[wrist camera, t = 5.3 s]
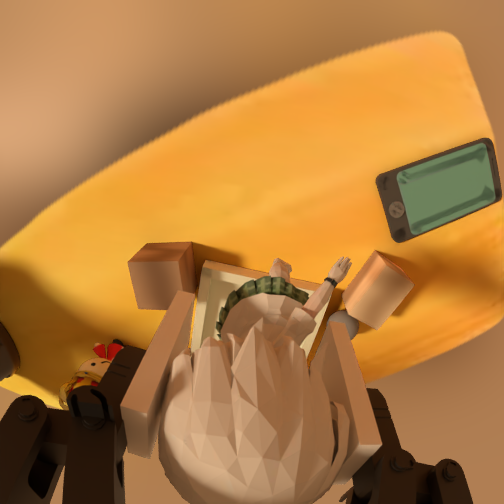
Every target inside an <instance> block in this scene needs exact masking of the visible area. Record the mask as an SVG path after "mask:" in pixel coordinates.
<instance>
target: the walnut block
mask: <svg viewBox="0 0 504 504" xmlns="http://www.w3.org/2000/svg"><path fill="white" fill-rule="evenodd" d="M128 267H129V271H130V276H131V280H132V284H133V289H134V293H135V297H136V301H137V305H138V309H152V310H168V308H169V306H170V305H171V303H172V301H173V299H174V297H175V295H176V293H177V291H178V290H180V291H184V292H188V293H193V294H194V293H195V291H196V289H197V286H198V284H197V277H196V270H195V263H194V256H193V248H192V242H171V243H147V244H146V245H145V246H144V247H143V248H141V249H140V250H139V251H138V252H137V253H136V254H135V255H134V256H133V257H132V258H131V259H130V260H129V261H128Z"/></svg>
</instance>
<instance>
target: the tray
mask: <svg viewBox="0 0 504 504" xmlns="http://www.w3.org/2000/svg"><path fill="white" fill-rule="evenodd" d="M263 276H269V273H265V272H260V271H255V270H251V269H246V268H242V267H237V266H233V265H228V264H223V263H219V262H215V261H210V260H205V262H204V264H203V266H202V271H201V278H200V285H199V292H198V299H197V306H196V313H195V320H194V328H193V335H192V343H191V352H192V353H193V352H194V351H195V350H197V349H200V348H201V346H202V344H203V341H204V339H206V338H208V337H212V338H214V339H216V340H217V341H218V340H219V337H218V336H217V334H219V332H218V331H217V330H216V329H215V327H216V321H218V322H219V313H220V310H221V307H225V304H226V301H227V298H228V295H229V294H230V293H231V292H232V291H233V290H235V291H236V290H238V289H239V288H240V287H241V286H242V285H243V284H244V283H245V282H247V281H250V280H253V279H254V281H255V280H257V279H259V278H261V277H263ZM290 283H291V284H293V285H294V286H295V287H296V288H298V289H300V290H303V291H305V292H306V293H308V294H309V296H308V297H310V296H311V295H312V294H313V293H314V292H315V291H316V290H317V289H318V288H319V287H320V286H321V284H316V283H312V282H307V281H302V280H297V279H293V278H290ZM331 295H332V294H331ZM330 298H331V296H330ZM330 298H329V300H330ZM329 300H328V302H327V303H326V304H325V306H324V307H323V308H322V309H321V310H320V312H319V313H318V314H317V316H316V317H315V319H314V320H315V322H316V323H317V324H316V327H315V329H314V331H313V333H311V334H309V335H308V336H307V337H306V338H305V340H304V341H303V343H302V344H301V346H300V348H302V349H304V350H305V354H306V359H307V356H308V354H309V352H310V349H311V347H312V344H313V342H314V339H315V337H316V334H317V332H318V329H319V327H320V324H321V321H322V319H323V316H324V314H325V311H326V308H327V306H328V303H329ZM190 354H191V353H190ZM191 356H192V355H191ZM190 359H191V357H190Z"/></svg>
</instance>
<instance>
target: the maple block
mask: <svg viewBox="0 0 504 504" xmlns="http://www.w3.org/2000/svg"><path fill="white" fill-rule="evenodd" d="M413 287H414V283H413V282H412V281H411V280H410V278H409V277H408V276H407V275H406V273H405V272H404V271H403V270H402V268H400V267H399V266H397V265H396V264H394V263H393V262H392V261H390V260H389V259H387V258H386V257H384V256H383V255H381V254H380V253H379V252H377V251H376V250H375V251H374V252H373V253H372V255H371V256H370V258H369V259H368V260H367V262H366V263H365V264H364V266H363V267H362V268H361V270H360V271H359V272H358V274H357V275H356V276H355V278H354V279H353V280H352V281H351V283H350V284H349V285H348V287H347V288H346V289H345V290H344V292H343V293H342V294H341V296H342V298H343V301H344V304H345V307H346V309H347V312H348V314H349V315H350V316H352V317H354V318H356V319H358V320H359V321H361V322H363V323H365V324H367V325H369V326H370V327H372V328H374V329H376V330H378V329H379V328H380V327H381V325H382V324H383V323H384V322H385V321H386V320H387V318H388V317H389V316H390V315H391V314H392V313H393V311H394V310H395V309H396V308H397V307H398V305H399V304H400V303H401V302H402V300H403V299H404V298H405V297H406V295H407V294H408V293H409V292H410V290H411V289H412V288H413Z"/></svg>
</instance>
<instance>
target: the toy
mask: <svg viewBox="0 0 504 504" xmlns="http://www.w3.org/2000/svg"><path fill="white" fill-rule="evenodd" d="M124 347H126V346H124V345H123V343H122V342H121V341H119V340H117V339H115V340H113V344H110V345H109V346H108V347H107V359H106V352H105V345H104V344H101V343H95V345H94V349H93V350H94V352H95V353H96V354H97V355H98V356H99V357H100V358H93V359H90V360H88V361H86V362H85V363H83V364H82V365H81V367H80V368H79V370H78V372H77V373H75V375H74V377H73V378H72V380H71V381H70V382H68V383H65V384H64V385H62V386H61V388H60V391H59V394H60V396H59V404H60V406H61V407H62V408H63V409H64V410H69V408H68V406H67V405H64V404H63V401H64V402H67V401H66V398H67V396H68V394H69V393H70V392H71V391H72V390H73V389H74V388H76V387H79V386H82V385H93V386H96V387H97V386H98V384H99V382H100V381H101V379H102V377H103V375H104V374H105V372H107V369H108V367H109V365H110V364H111V363H112V360H113V359H114V357H115V355H116V354H117V352H118V351H120V350H121V349H123V348H124ZM70 384H72V386H71V387H70V388H69V390H68V391H67V392H65V388H66V386H68V385H70Z"/></svg>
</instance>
